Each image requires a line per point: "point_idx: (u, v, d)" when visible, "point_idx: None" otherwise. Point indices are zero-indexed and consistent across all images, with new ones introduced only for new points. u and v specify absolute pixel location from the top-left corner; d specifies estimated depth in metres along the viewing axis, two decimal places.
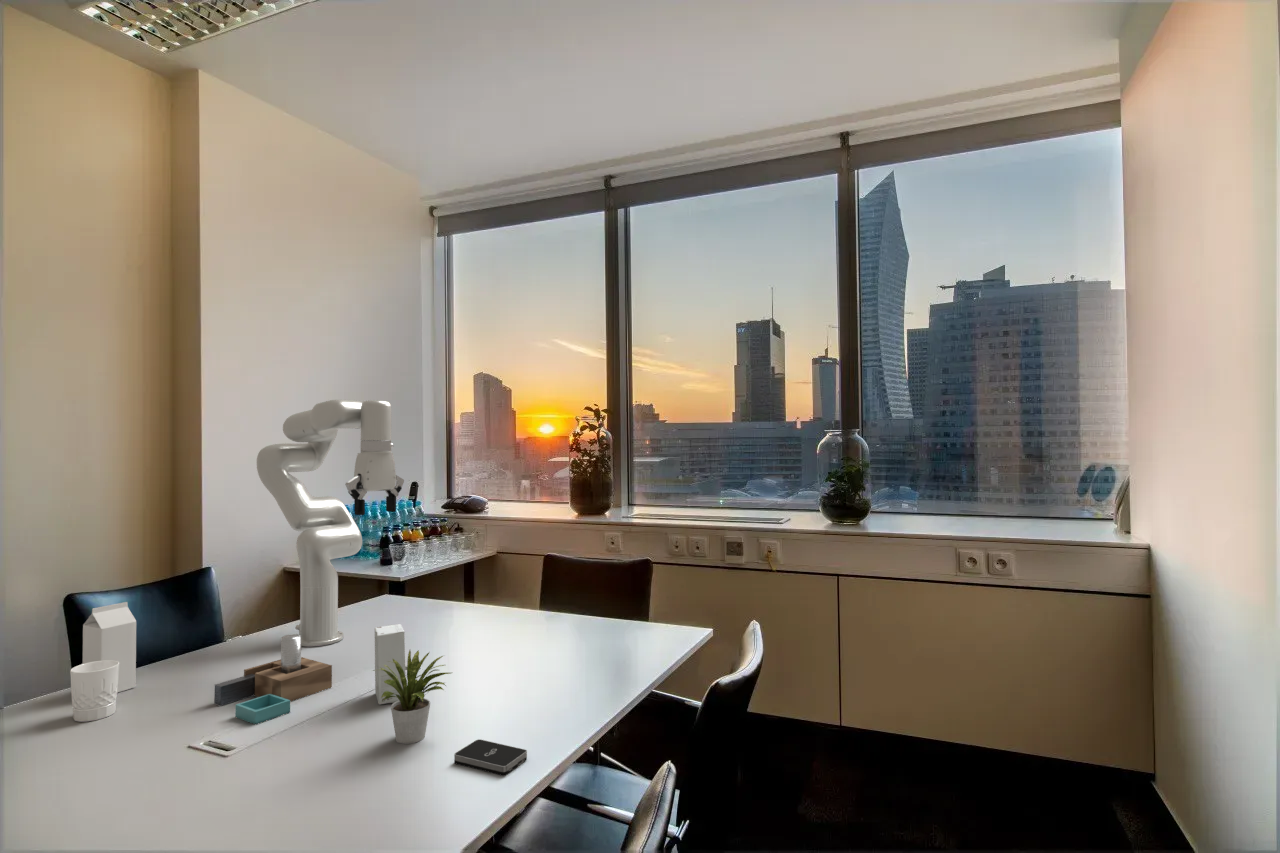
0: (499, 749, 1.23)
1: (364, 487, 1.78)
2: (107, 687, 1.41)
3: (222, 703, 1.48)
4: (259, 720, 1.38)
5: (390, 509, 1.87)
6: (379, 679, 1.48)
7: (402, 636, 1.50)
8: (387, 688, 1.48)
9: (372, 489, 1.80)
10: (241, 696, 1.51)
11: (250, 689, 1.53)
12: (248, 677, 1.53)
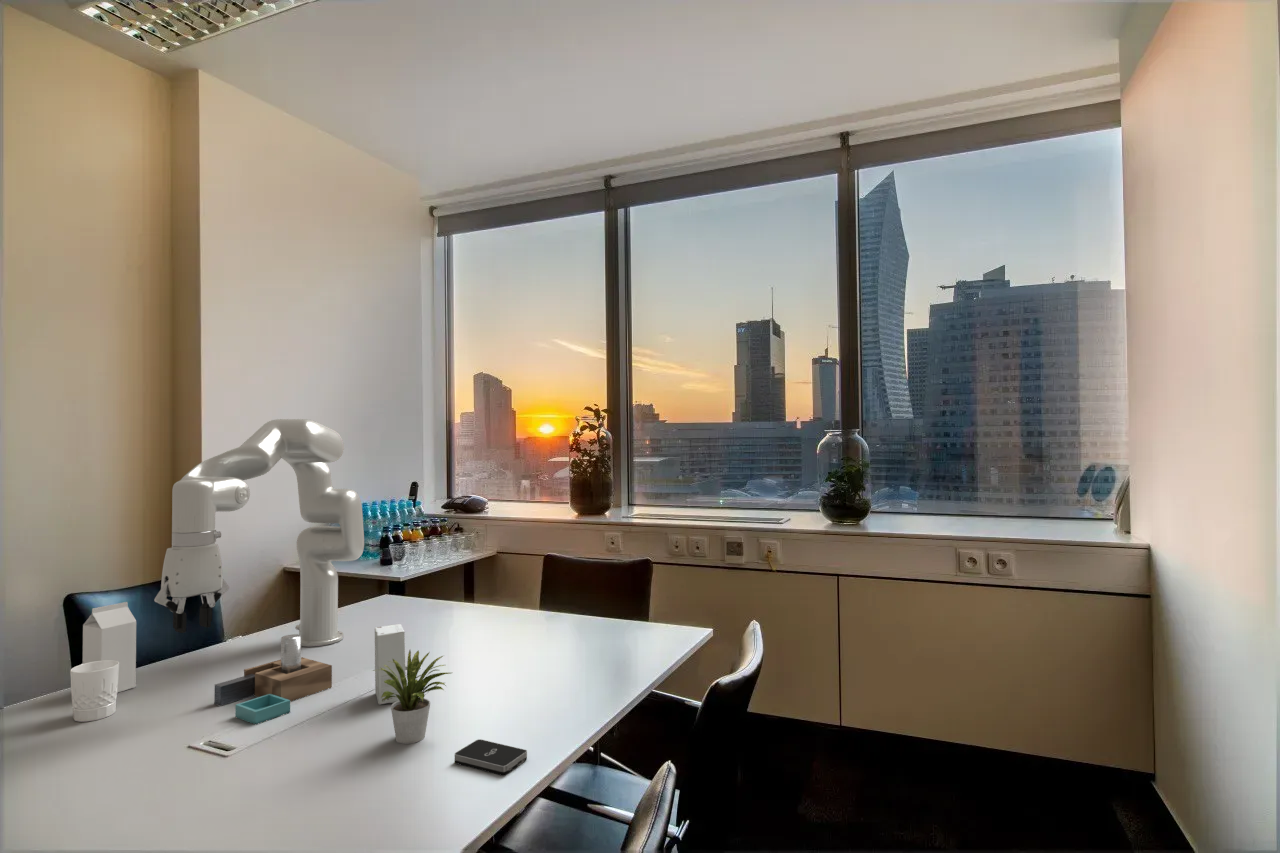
0: (500, 749, 1.23)
1: (172, 594, 1.39)
2: (107, 687, 1.41)
3: (222, 703, 1.48)
4: (259, 720, 1.38)
5: (203, 624, 1.46)
6: (379, 679, 1.48)
7: (402, 636, 1.50)
8: (387, 688, 1.48)
9: (184, 595, 1.41)
10: (241, 696, 1.51)
11: (250, 689, 1.53)
12: (248, 677, 1.53)
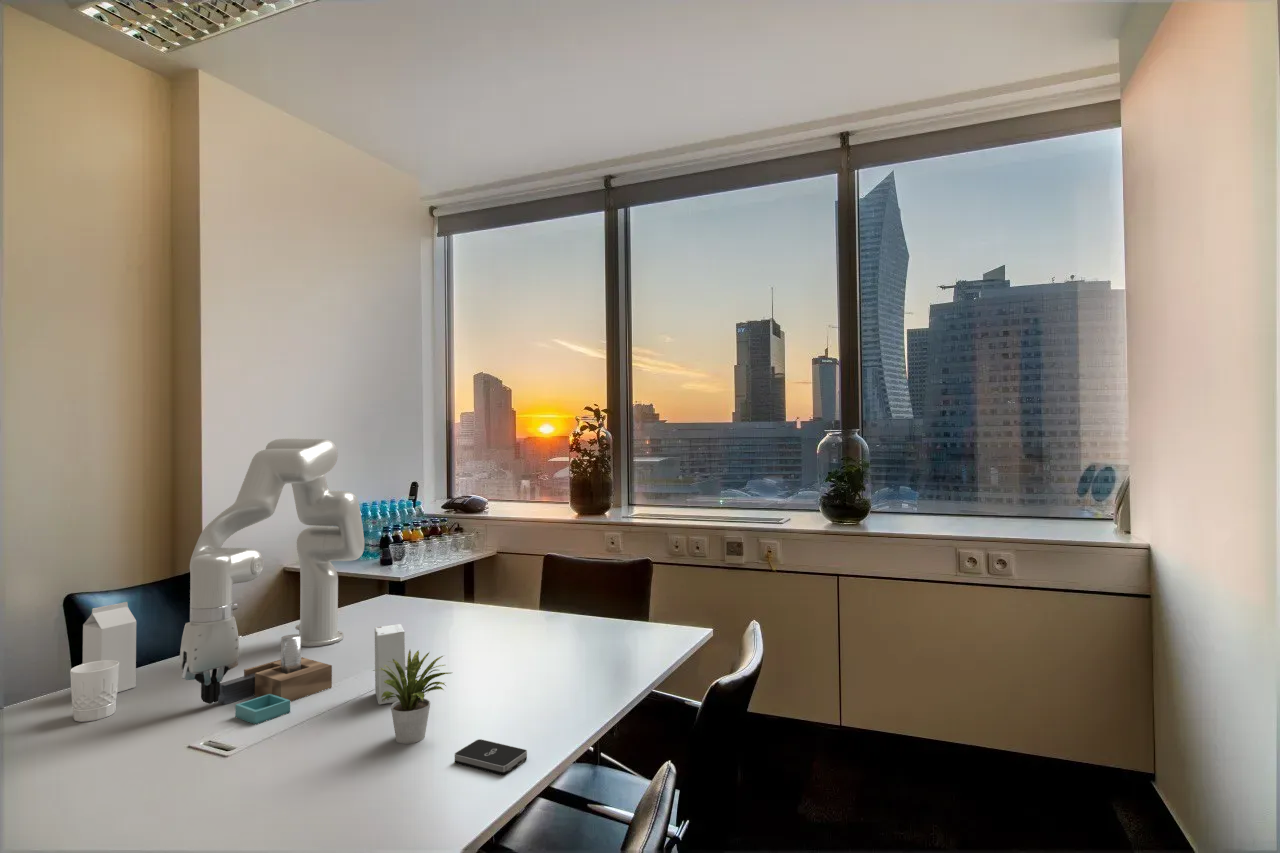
0: (500, 749, 1.23)
1: (190, 669, 1.42)
2: (107, 687, 1.41)
3: (226, 702, 1.48)
4: (259, 720, 1.38)
5: None
6: (379, 679, 1.48)
7: (402, 636, 1.50)
8: (387, 688, 1.48)
9: (202, 669, 1.44)
10: (245, 695, 1.52)
11: (253, 688, 1.53)
12: (252, 676, 1.54)
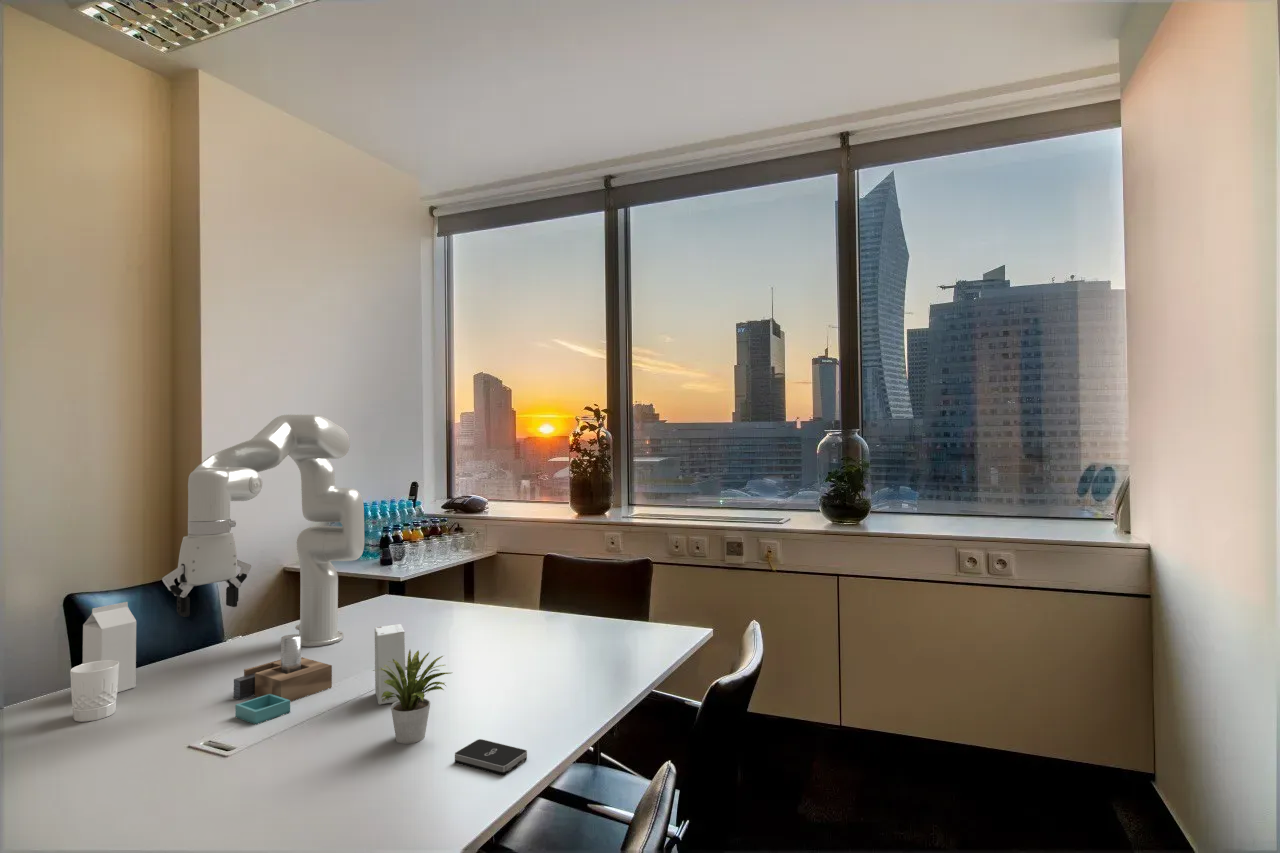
0: (500, 749, 1.23)
1: (188, 581, 1.42)
2: (107, 687, 1.41)
3: (241, 697, 1.51)
4: (259, 720, 1.38)
5: (230, 604, 1.50)
6: (379, 679, 1.48)
7: (402, 636, 1.50)
8: (387, 688, 1.48)
9: (200, 582, 1.44)
10: None
11: None
12: None
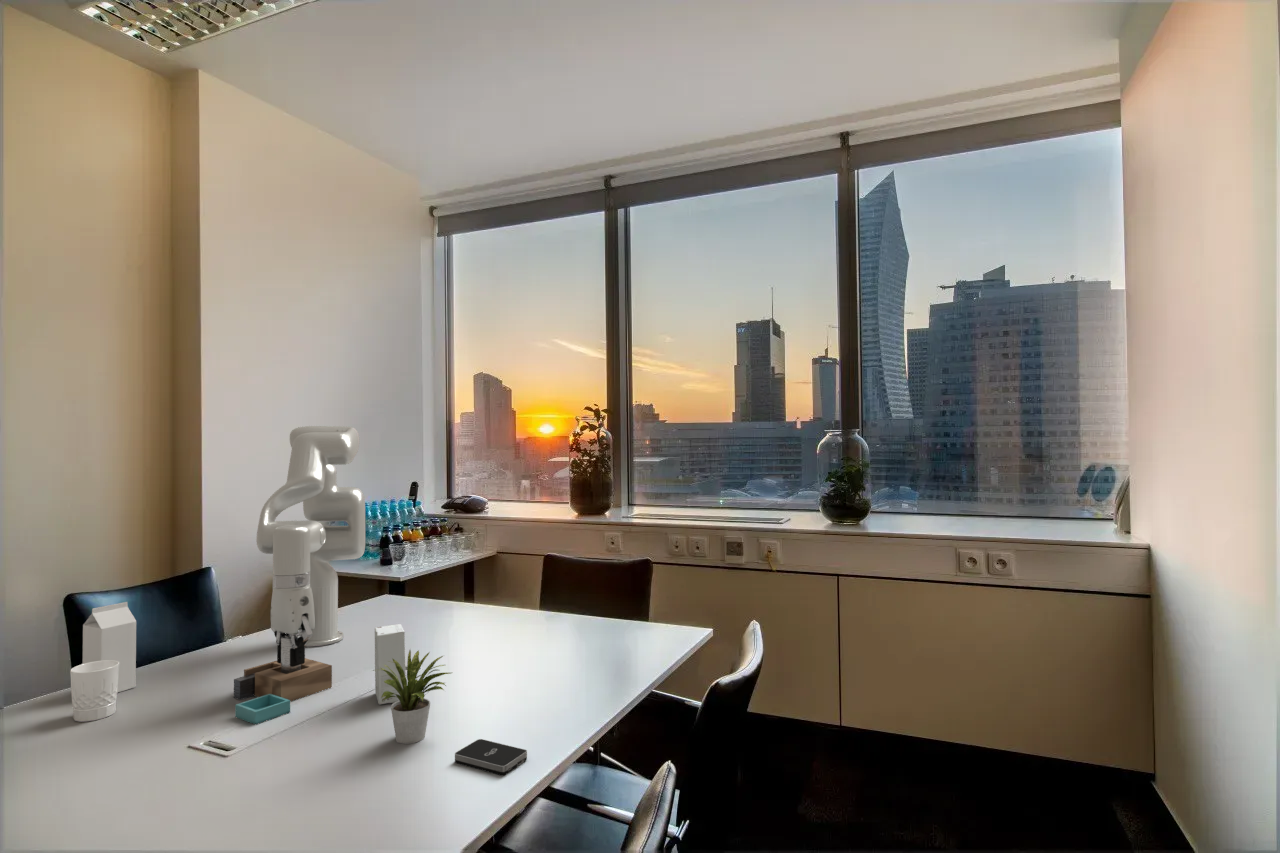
0: (500, 749, 1.23)
1: None
2: (107, 687, 1.41)
3: (241, 697, 1.51)
4: (259, 720, 1.38)
5: None
6: (379, 679, 1.48)
7: (402, 636, 1.50)
8: (387, 688, 1.48)
9: (275, 629, 1.56)
10: None
11: None
12: None
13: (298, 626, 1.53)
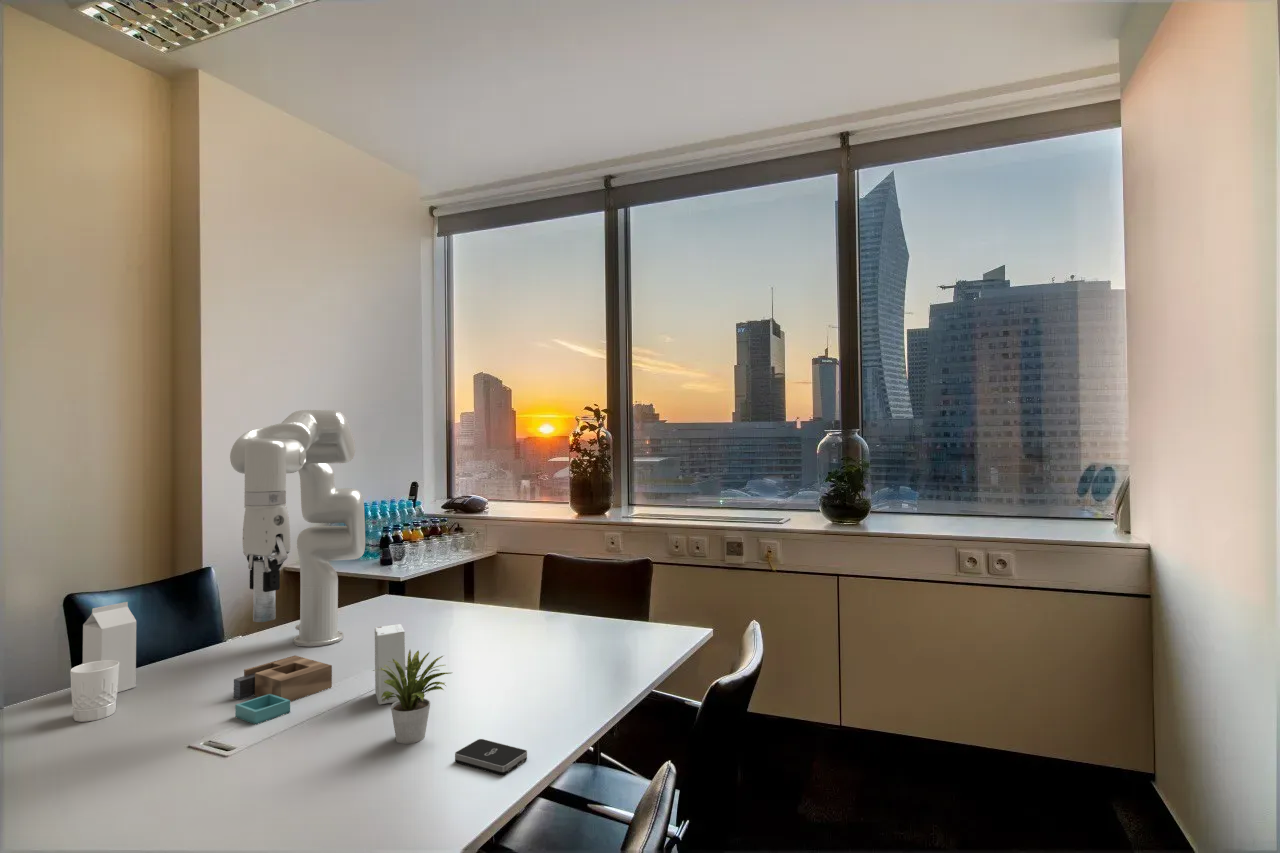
0: (500, 749, 1.23)
1: None
2: (107, 687, 1.41)
3: (241, 697, 1.51)
4: (259, 720, 1.38)
5: None
6: (379, 679, 1.48)
7: (402, 636, 1.50)
8: (387, 688, 1.48)
9: (248, 552, 1.43)
10: None
11: None
12: None
13: (272, 547, 1.40)
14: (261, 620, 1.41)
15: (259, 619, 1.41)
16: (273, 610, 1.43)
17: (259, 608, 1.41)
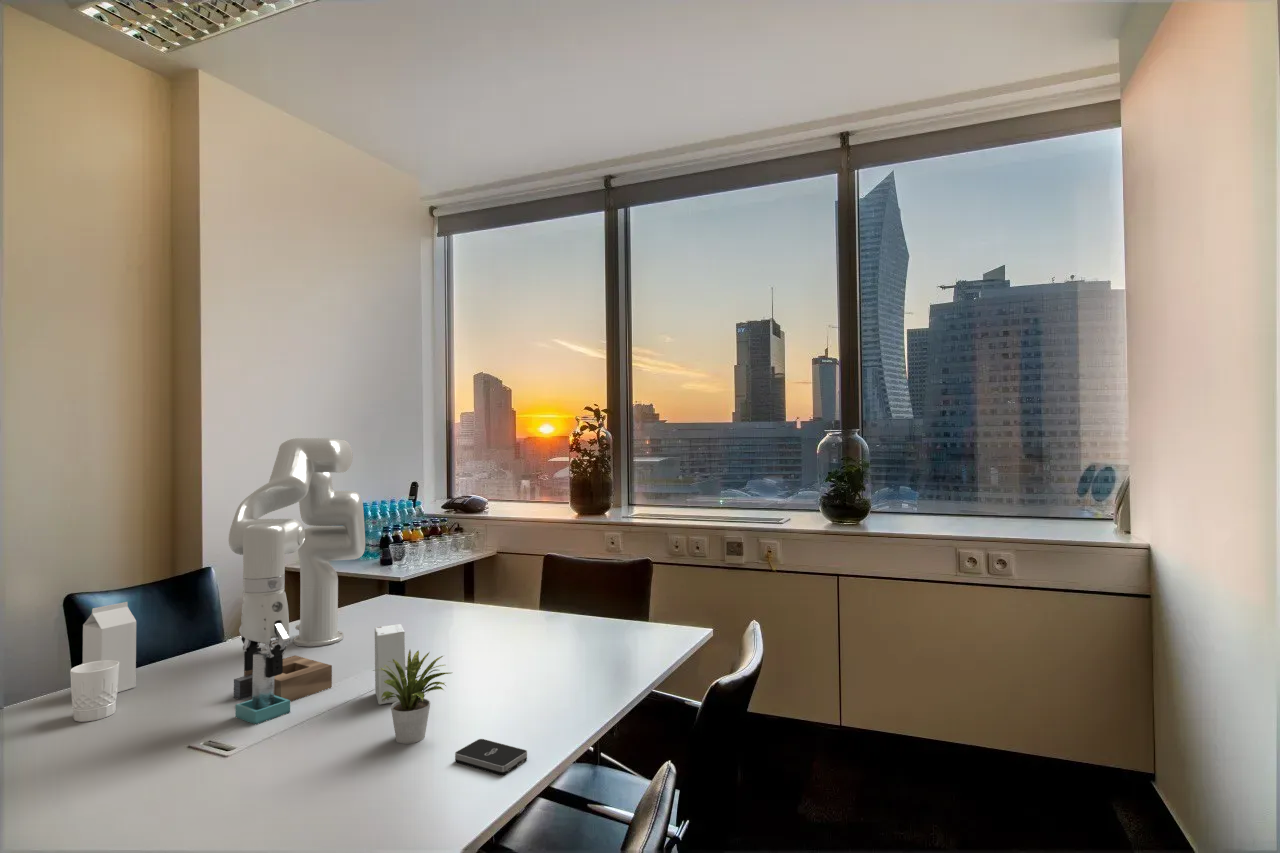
0: (500, 749, 1.23)
1: None
2: (107, 687, 1.41)
3: (241, 697, 1.51)
4: (259, 720, 1.38)
5: None
6: (379, 679, 1.48)
7: (402, 636, 1.50)
8: (387, 688, 1.48)
9: (246, 637, 1.43)
10: None
11: None
12: None
13: (270, 634, 1.39)
14: None
15: None
16: (272, 703, 1.43)
17: (257, 702, 1.41)
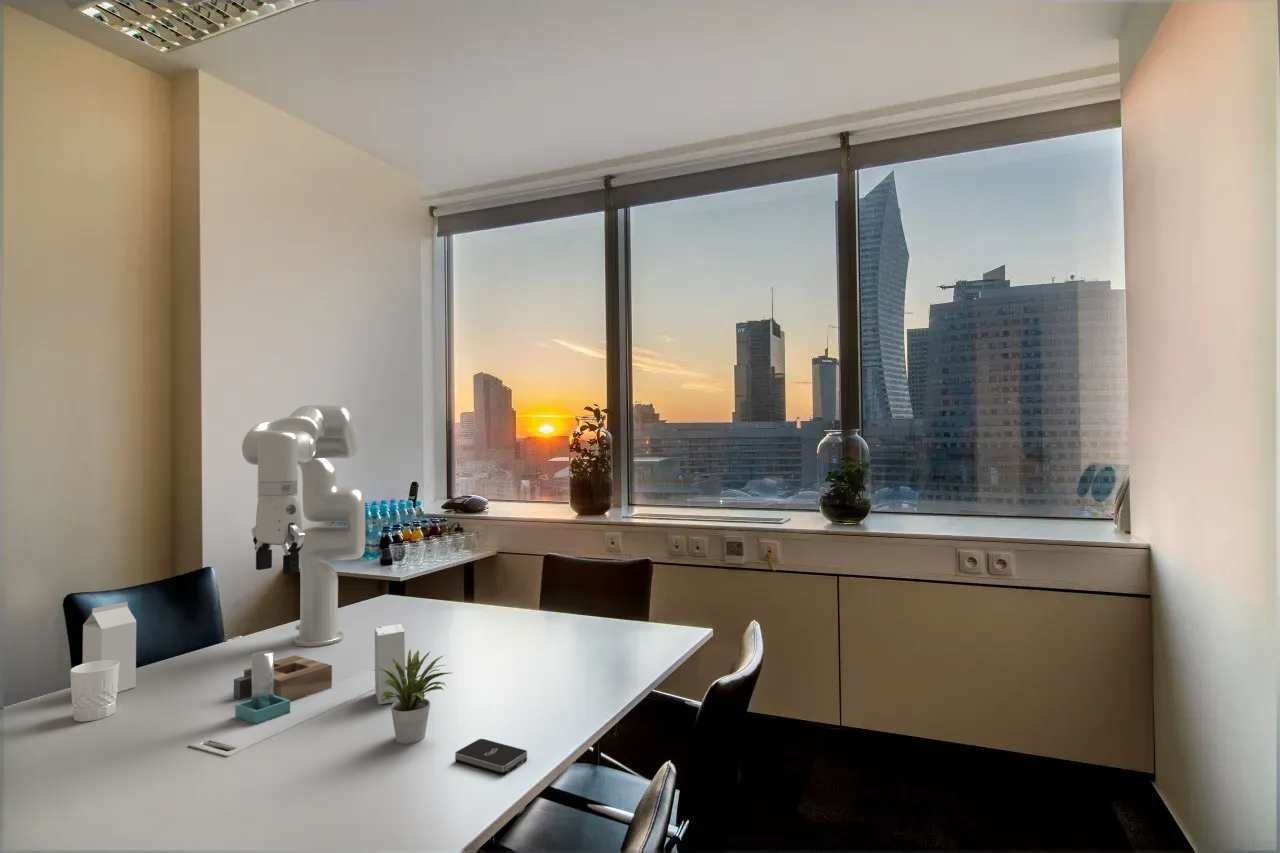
0: (500, 749, 1.23)
1: None
2: (107, 687, 1.41)
3: (241, 697, 1.51)
4: (259, 720, 1.38)
5: None
6: (379, 679, 1.48)
7: (402, 636, 1.50)
8: (387, 688, 1.48)
9: (261, 541, 1.47)
10: None
11: None
12: None
13: (284, 535, 1.44)
14: None
15: None
16: (272, 703, 1.43)
17: (257, 702, 1.41)
